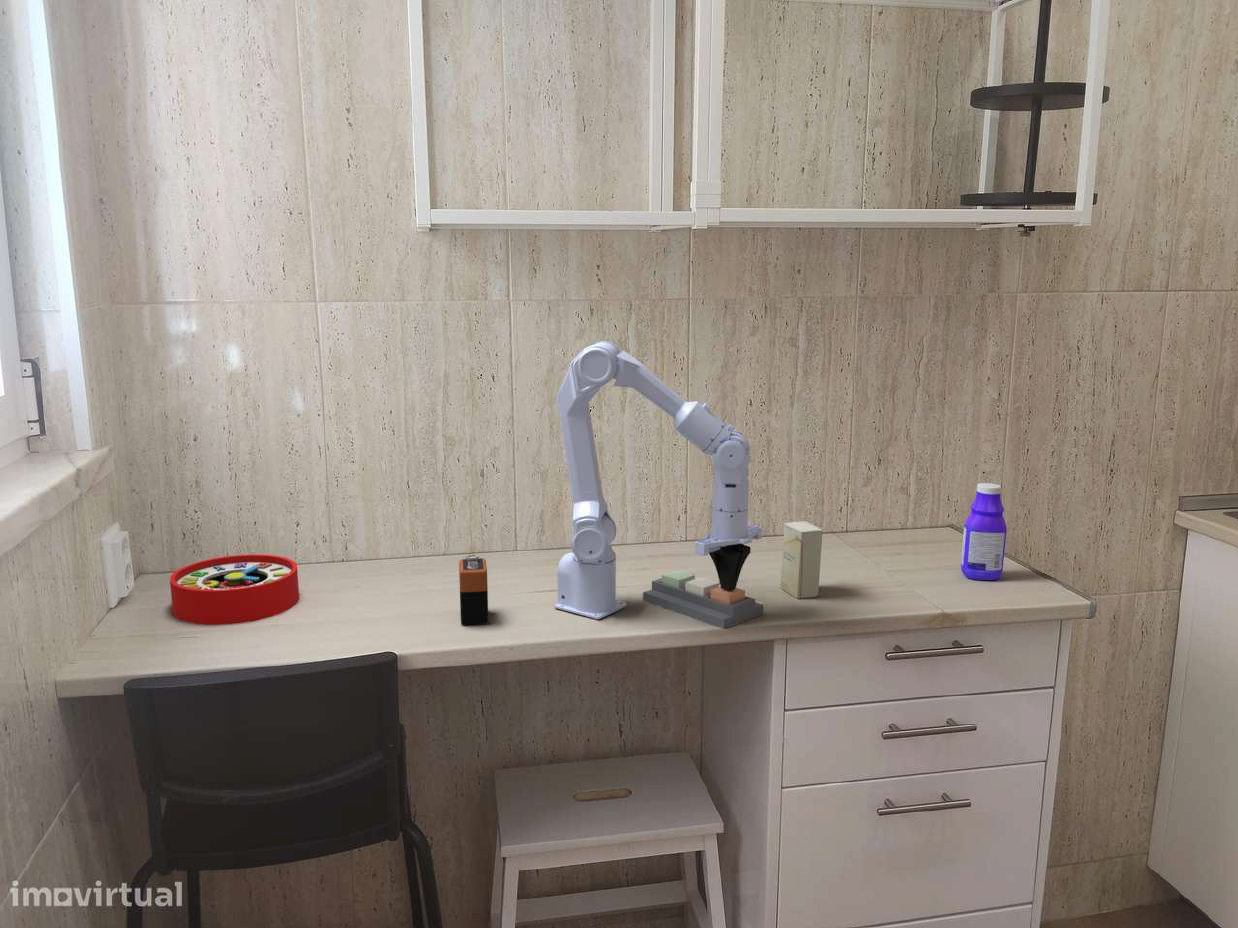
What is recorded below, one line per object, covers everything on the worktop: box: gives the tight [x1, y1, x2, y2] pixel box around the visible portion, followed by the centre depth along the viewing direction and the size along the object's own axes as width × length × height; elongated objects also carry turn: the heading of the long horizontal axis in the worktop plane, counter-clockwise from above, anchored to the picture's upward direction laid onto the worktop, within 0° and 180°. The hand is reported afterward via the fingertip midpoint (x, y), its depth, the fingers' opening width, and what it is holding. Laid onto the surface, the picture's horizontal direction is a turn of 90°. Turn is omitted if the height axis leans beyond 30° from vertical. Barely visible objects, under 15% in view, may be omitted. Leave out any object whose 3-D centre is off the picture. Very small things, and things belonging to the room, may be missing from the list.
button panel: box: [642, 577, 764, 629], centre depth 165 cm, size 18×10×3 cm, turn 44°
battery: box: [458, 554, 489, 626], centre depth 159 cm, size 4×7×10 cm, turn 10°
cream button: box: [685, 576, 720, 596], centre depth 165 cm, size 4×4×2 cm
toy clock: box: [169, 553, 300, 626], centre depth 166 cm, size 20×6×20 cm
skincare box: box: [780, 520, 824, 600], centre depth 172 cm, size 6×4×12 cm
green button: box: [661, 569, 696, 588], centre depth 169 cm, size 4×4×2 cm
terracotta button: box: [710, 586, 746, 605], centre depth 161 cm, size 4×4×2 cm
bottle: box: [960, 482, 1008, 581], centre depth 180 cm, size 7×6×17 cm
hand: (728, 588), depth 161 cm, fingers closed
